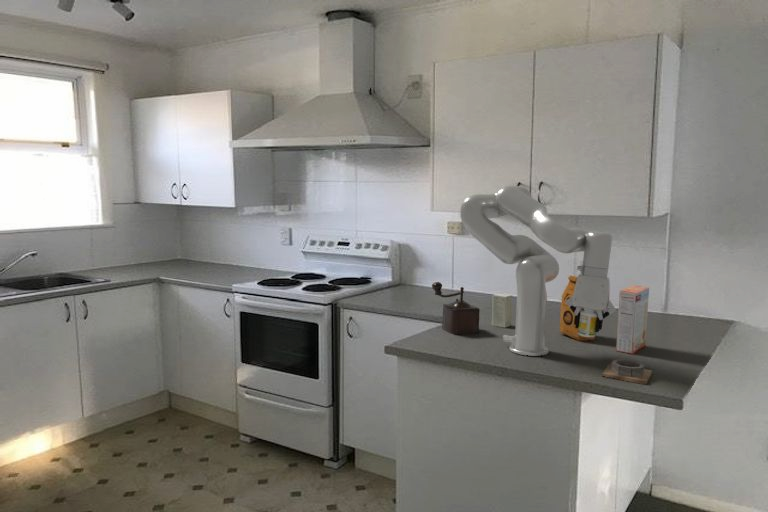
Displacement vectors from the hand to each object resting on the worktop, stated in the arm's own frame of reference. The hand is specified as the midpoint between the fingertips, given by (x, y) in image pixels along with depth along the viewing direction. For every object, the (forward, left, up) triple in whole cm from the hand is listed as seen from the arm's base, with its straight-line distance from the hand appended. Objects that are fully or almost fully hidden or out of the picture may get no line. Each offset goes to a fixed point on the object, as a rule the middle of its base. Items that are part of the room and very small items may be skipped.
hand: (587, 328), depth 191 cm
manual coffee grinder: (-50, +13, -11) cm, 53 cm away
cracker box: (+9, +27, -11) cm, 30 cm away
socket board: (+13, -5, -11) cm, 18 cm away
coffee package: (-10, +32, -11) cm, 35 cm away
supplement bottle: (0, 0, -2) cm, 2 cm away
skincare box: (-39, +32, -11) cm, 51 cm away
